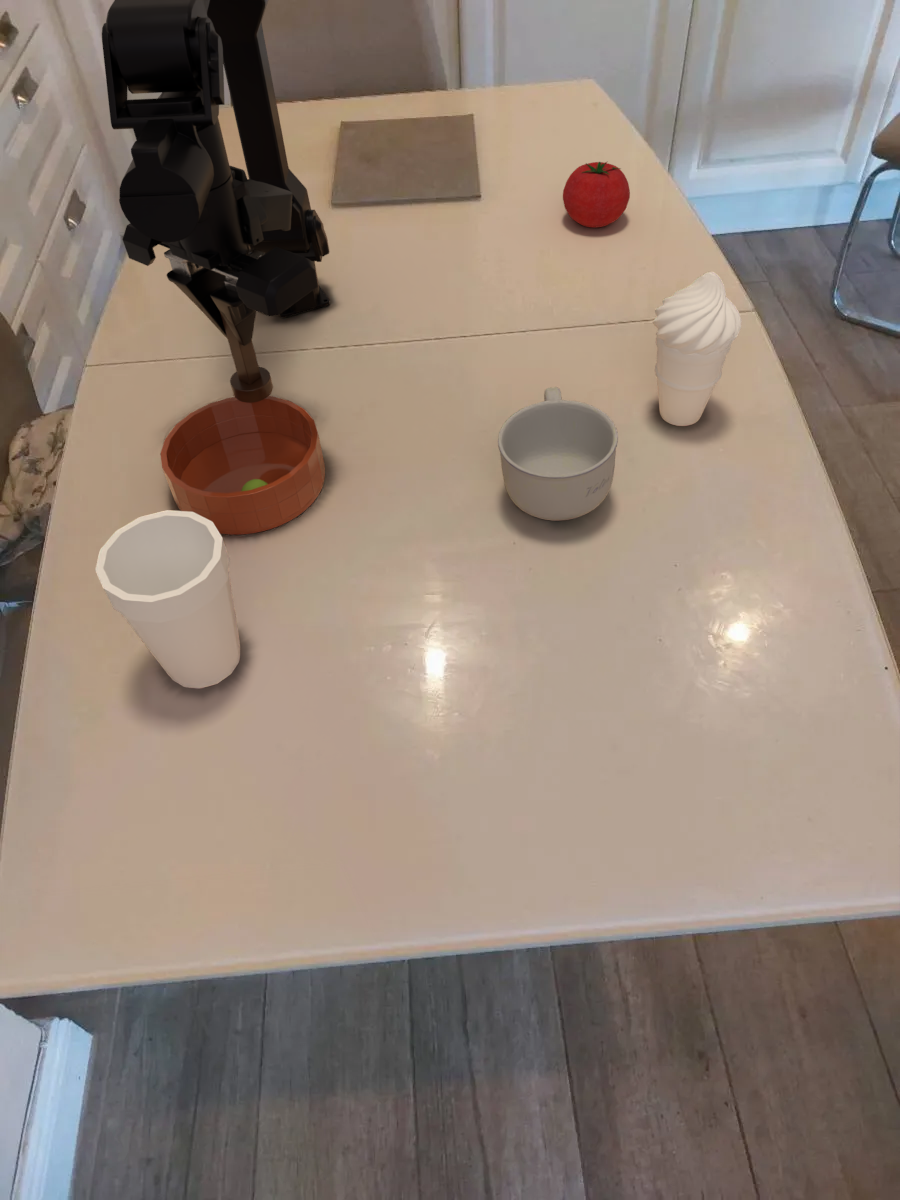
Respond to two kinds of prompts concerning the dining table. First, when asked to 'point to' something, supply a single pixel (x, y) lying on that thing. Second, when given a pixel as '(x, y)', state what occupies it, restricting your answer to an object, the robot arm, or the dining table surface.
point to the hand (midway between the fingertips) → (239, 340)
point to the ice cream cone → (692, 347)
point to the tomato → (596, 194)
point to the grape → (253, 484)
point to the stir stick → (247, 371)
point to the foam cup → (175, 593)
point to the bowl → (244, 463)
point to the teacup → (558, 457)
